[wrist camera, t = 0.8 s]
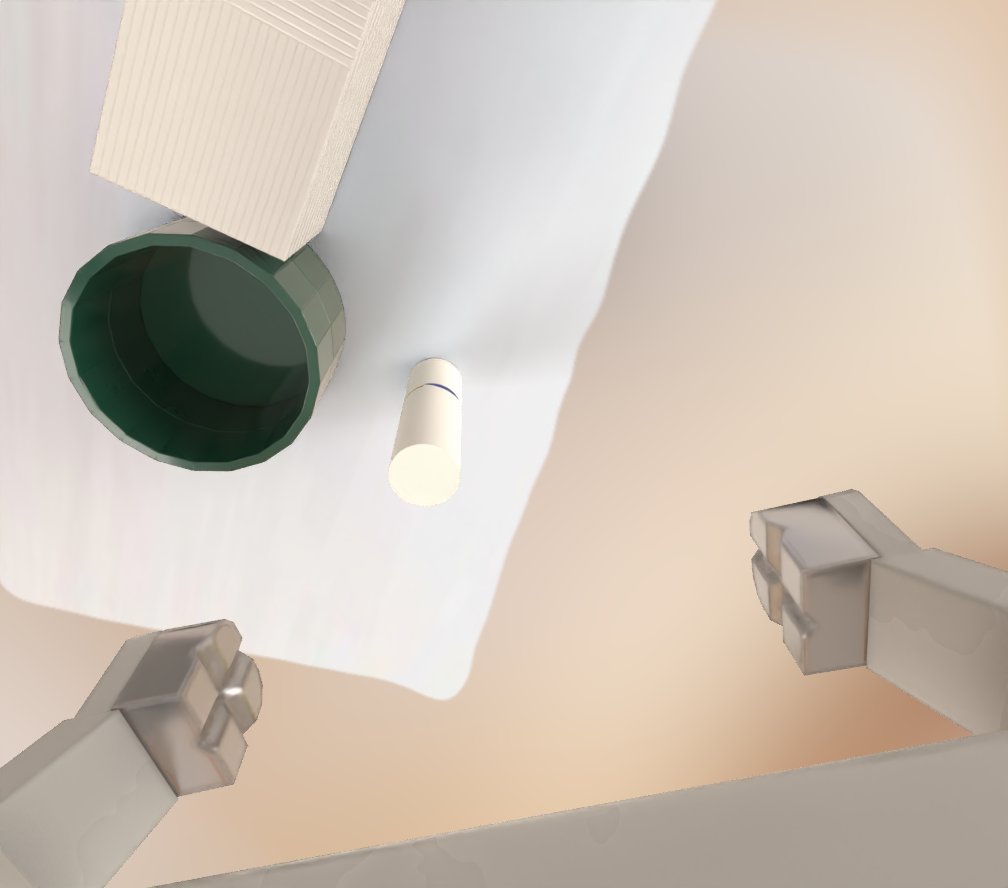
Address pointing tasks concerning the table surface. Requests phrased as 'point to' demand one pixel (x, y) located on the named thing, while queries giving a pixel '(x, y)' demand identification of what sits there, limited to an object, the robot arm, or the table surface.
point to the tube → (428, 435)
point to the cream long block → (241, 109)
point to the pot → (201, 344)
